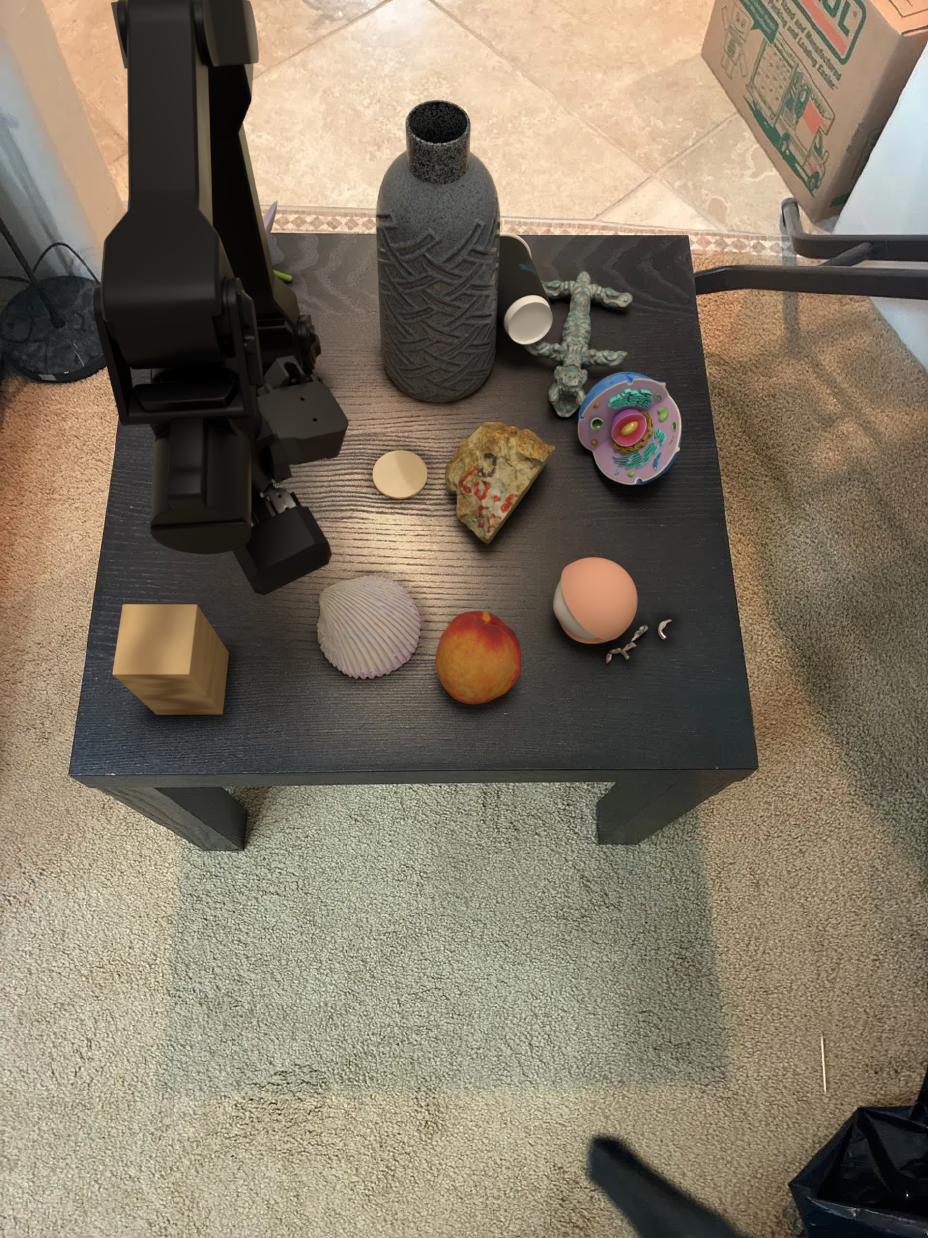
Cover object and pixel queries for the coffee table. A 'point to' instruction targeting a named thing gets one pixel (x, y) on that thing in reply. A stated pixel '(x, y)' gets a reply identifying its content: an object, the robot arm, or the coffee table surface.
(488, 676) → the fruit
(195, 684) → the stand
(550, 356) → the sculpture
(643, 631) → the toy
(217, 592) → the coffee table surface
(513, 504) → the rock
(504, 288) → the dixie cup
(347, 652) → the seashell
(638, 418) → the cell model
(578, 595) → the toy ball
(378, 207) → the vase
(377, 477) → the coaster
